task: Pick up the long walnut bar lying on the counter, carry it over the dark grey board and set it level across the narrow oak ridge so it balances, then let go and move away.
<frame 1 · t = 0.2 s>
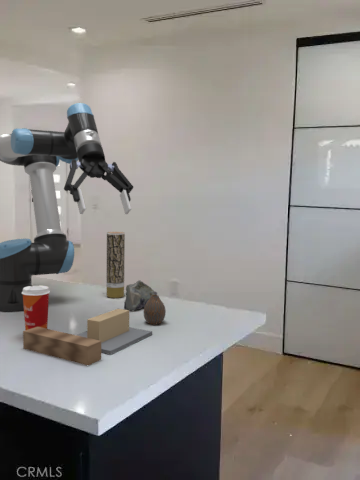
hand: (106, 211, 133), 36 cm above the kitchen island, tool tilted 35°, fingers open, 13 cm apart
vase: (154, 323, 154), on the kitchen island
mineral rock: (141, 308, 173), on the kitchen island
paper tube: (115, 297, 189), on the kitchen island
paper cup: (36, 337, 137), on the kitchen island
walnut bar: (61, 355, 124), on the kitchen island
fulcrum: (108, 339, 136), on the kitchen island
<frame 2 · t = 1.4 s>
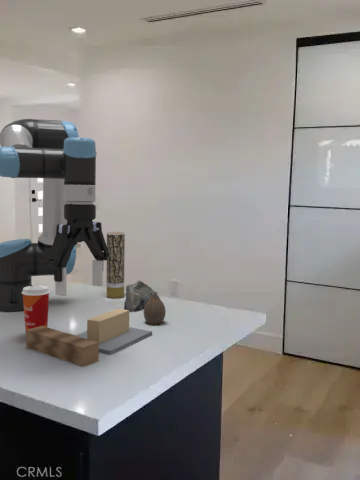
hand: (80, 290, 119), 17 cm above the kitchen island, tool pointing down, fingers open, 13 cm apart
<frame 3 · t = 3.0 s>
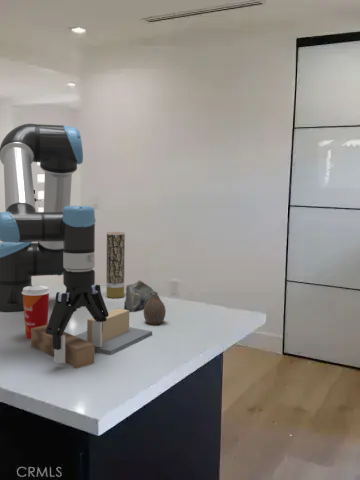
hand: (79, 354, 120), 1 cm above the kitchen island, tool pointing down, fingers open, 13 cm apart
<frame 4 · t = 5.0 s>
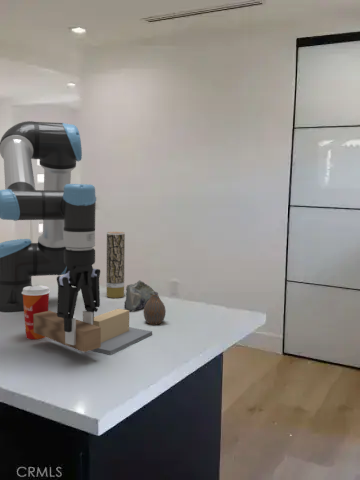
hand: (79, 339, 121), 4 cm above the kitchen island, tool pointing down, fingers closed on walnut bar, 6 cm apart
walnut bar: (65, 339, 125), point 3 cm above the kitchen island, touching gripper
everything else where it was.
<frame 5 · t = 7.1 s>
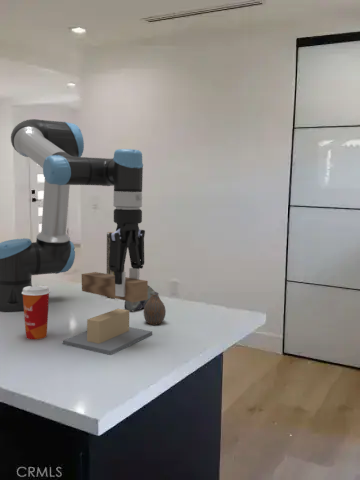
hand: (127, 293, 132), 14 cm above the kitchen island, tool pointing down, fingers closed on walnut bar, 6 cm apart
walnut bar: (113, 295, 136), point 12 cm above the kitchen island, touching gripper
everything else where it was.
when the fingers open (7 cm above the kitchen island, at t = 9.0 s): walnut bar stays where it is, resting on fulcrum.
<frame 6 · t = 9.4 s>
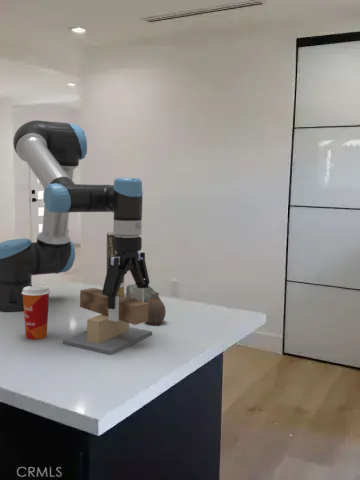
hand: (126, 315, 133), 8 cm above the kitchen island, tool pointing down, fingers open, 11 cm apart
walnut bar: (112, 313, 136), point 7 cm above the kitchen island, touching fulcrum
everything else where it was.
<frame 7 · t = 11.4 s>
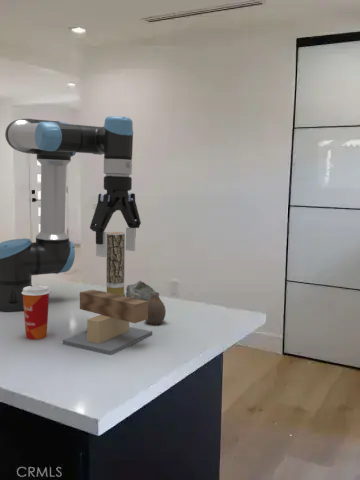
hand: (116, 253, 134), 24 cm above the kitchen island, tool pointing down, fingers open, 13 cm apart
nothing on the kitchen island moved.
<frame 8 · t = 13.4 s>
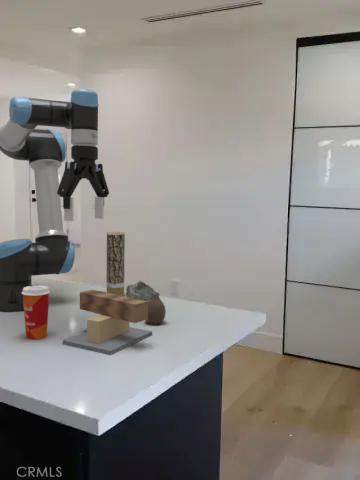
hand: (84, 219, 142), 33 cm above the kitchen island, tool pointing down, fingers open, 13 cm apart
at the end: walnut bar inside the target area on the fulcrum (1.2 cm from its centre), point 7.0 cm above the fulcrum's base; walnut bar tilted 0°; walnut bar touching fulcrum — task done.
